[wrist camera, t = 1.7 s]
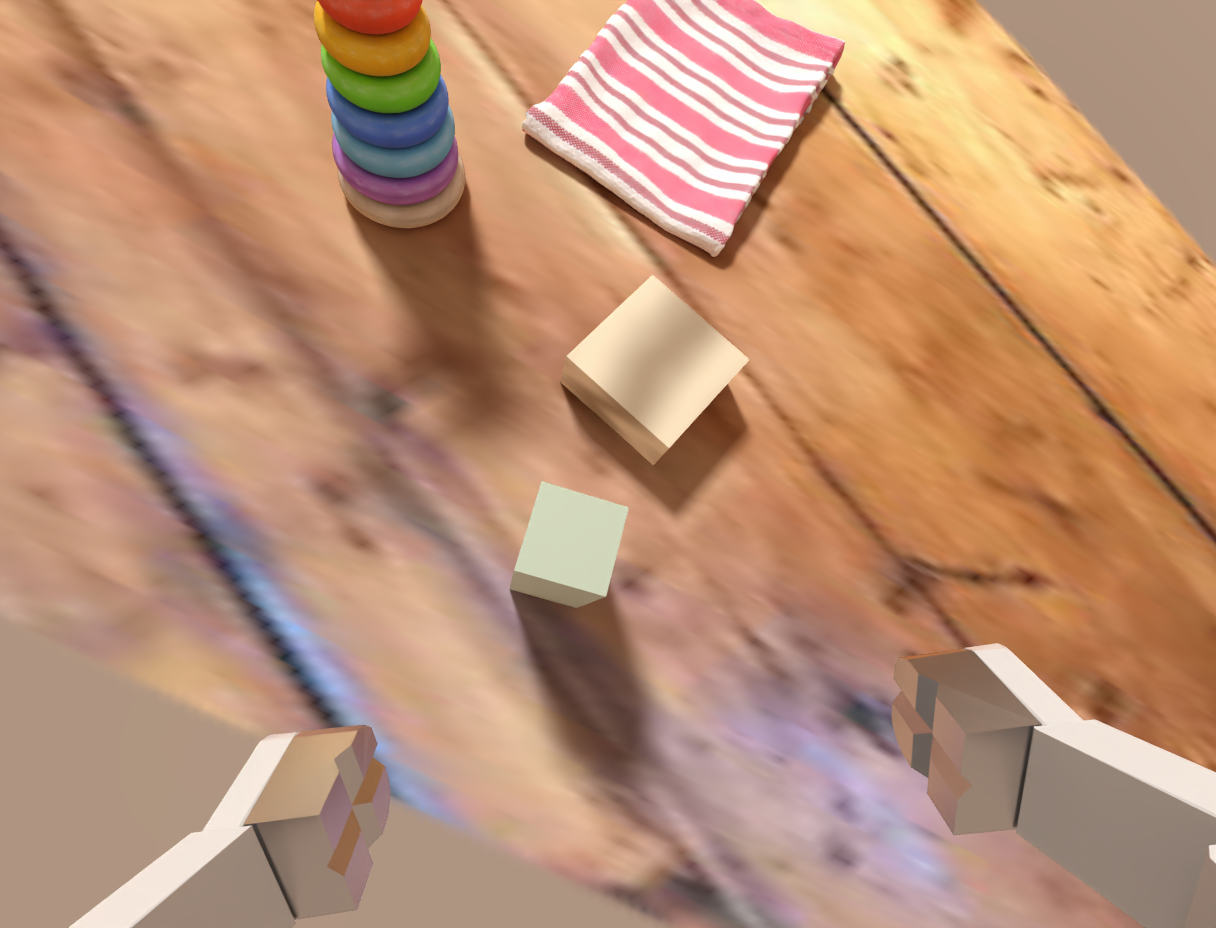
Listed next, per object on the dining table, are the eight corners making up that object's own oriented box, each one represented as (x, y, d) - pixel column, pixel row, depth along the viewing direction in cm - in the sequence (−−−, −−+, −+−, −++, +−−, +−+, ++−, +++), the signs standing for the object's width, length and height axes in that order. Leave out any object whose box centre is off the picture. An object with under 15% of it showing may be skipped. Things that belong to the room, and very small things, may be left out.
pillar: (509, 589, 35) (514, 570, 25) (529, 523, 36) (541, 481, 26) (576, 608, 35) (606, 596, 25) (594, 541, 36) (629, 507, 27)
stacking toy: (482, 220, 41) (471, -101, 23) (362, 246, 39) (248, -83, 21) (444, 126, 42) (407, -242, 25) (327, 147, 40) (194, -238, 23)
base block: (559, 383, 39) (566, 356, 35) (638, 307, 41) (652, 274, 38) (652, 466, 38) (669, 448, 35) (726, 385, 41) (749, 359, 37)
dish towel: (834, 76, 51) (857, 37, 48) (713, 268, 44) (731, 238, 40) (663, -31, 51) (675, -76, 48) (512, 144, 44) (514, 103, 40)
